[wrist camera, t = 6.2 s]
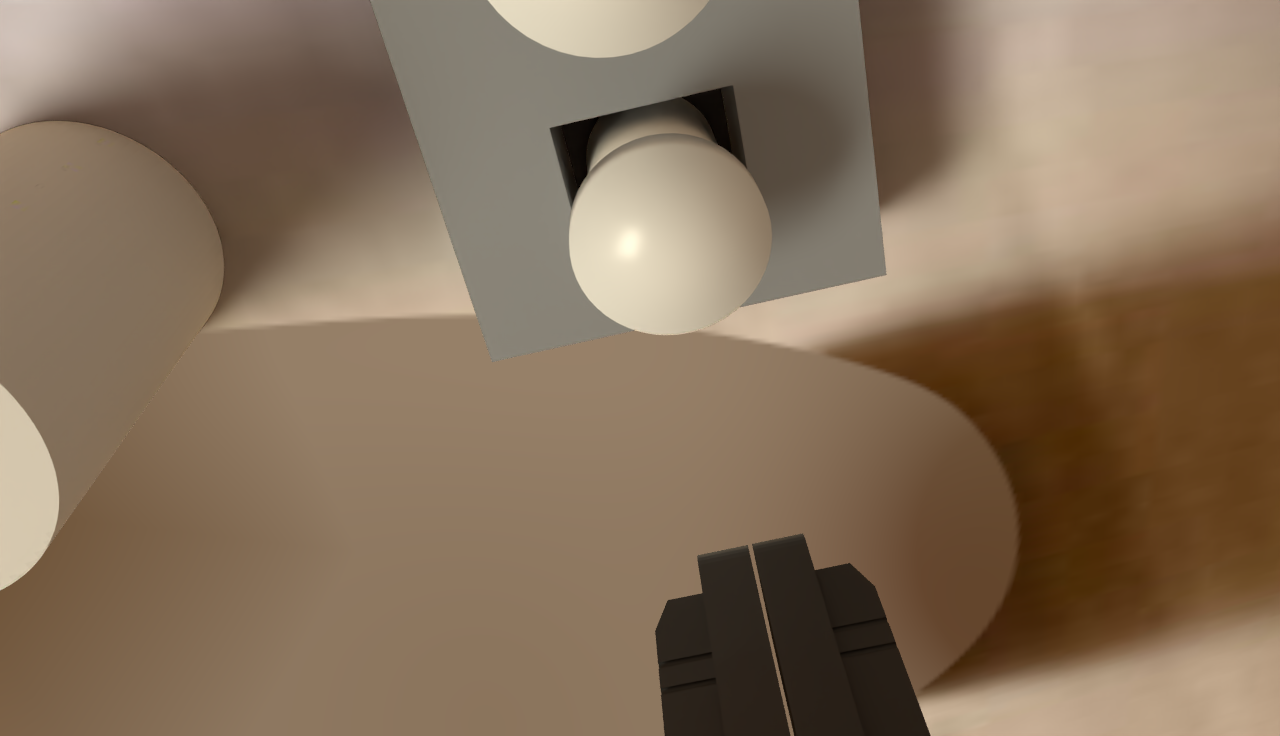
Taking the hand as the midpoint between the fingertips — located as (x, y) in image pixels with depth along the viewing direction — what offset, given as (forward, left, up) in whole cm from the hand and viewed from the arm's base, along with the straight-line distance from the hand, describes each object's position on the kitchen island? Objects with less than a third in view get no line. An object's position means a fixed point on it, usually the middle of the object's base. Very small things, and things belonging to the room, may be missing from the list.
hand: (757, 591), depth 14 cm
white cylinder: (+18, -1, -20) cm, 27 cm away
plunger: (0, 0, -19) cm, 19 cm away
